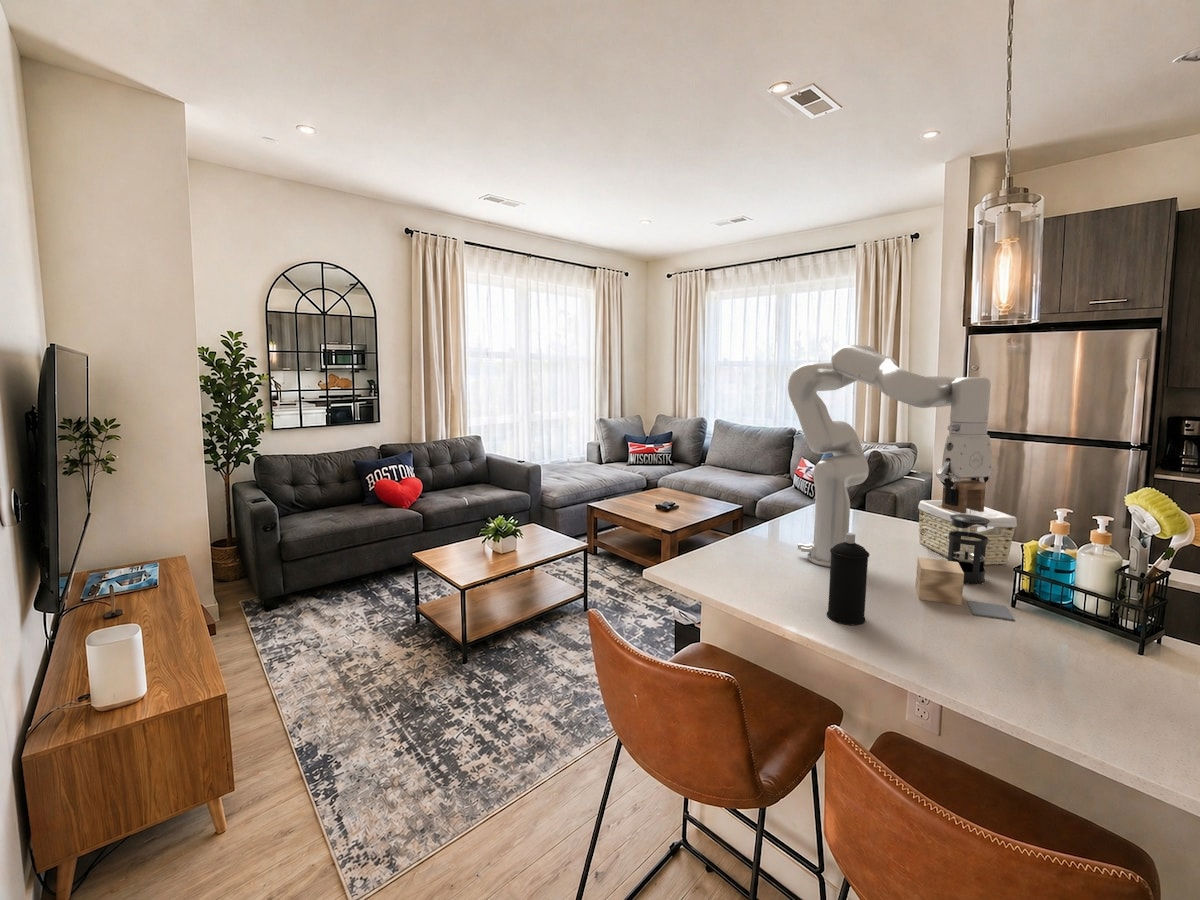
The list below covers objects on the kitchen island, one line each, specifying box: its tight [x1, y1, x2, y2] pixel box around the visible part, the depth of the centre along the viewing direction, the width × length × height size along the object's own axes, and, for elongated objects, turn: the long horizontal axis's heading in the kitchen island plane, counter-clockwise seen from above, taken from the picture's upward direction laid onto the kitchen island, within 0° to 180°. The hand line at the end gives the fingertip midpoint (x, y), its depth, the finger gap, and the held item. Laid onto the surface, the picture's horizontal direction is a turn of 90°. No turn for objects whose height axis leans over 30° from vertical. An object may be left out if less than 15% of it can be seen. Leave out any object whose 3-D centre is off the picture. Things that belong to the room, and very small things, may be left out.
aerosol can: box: [826, 532, 870, 626], centre depth 127 cm, size 8×8×20 cm
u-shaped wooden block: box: [941, 478, 987, 513], centre depth 133 cm, size 6×6×7 cm
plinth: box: [915, 556, 964, 606], centre depth 140 cm, size 9×9×8 cm
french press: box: [947, 509, 990, 585], centre depth 150 cm, size 12×9×23 cm
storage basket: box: [917, 499, 1018, 566], centre depth 171 cm, size 24×16×15 cm
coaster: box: [966, 599, 1016, 622], centre depth 131 cm, size 8×8×1 cm
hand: (962, 503), depth 133 cm, fingers closed on u-shaped wooden block, 6 cm apart
